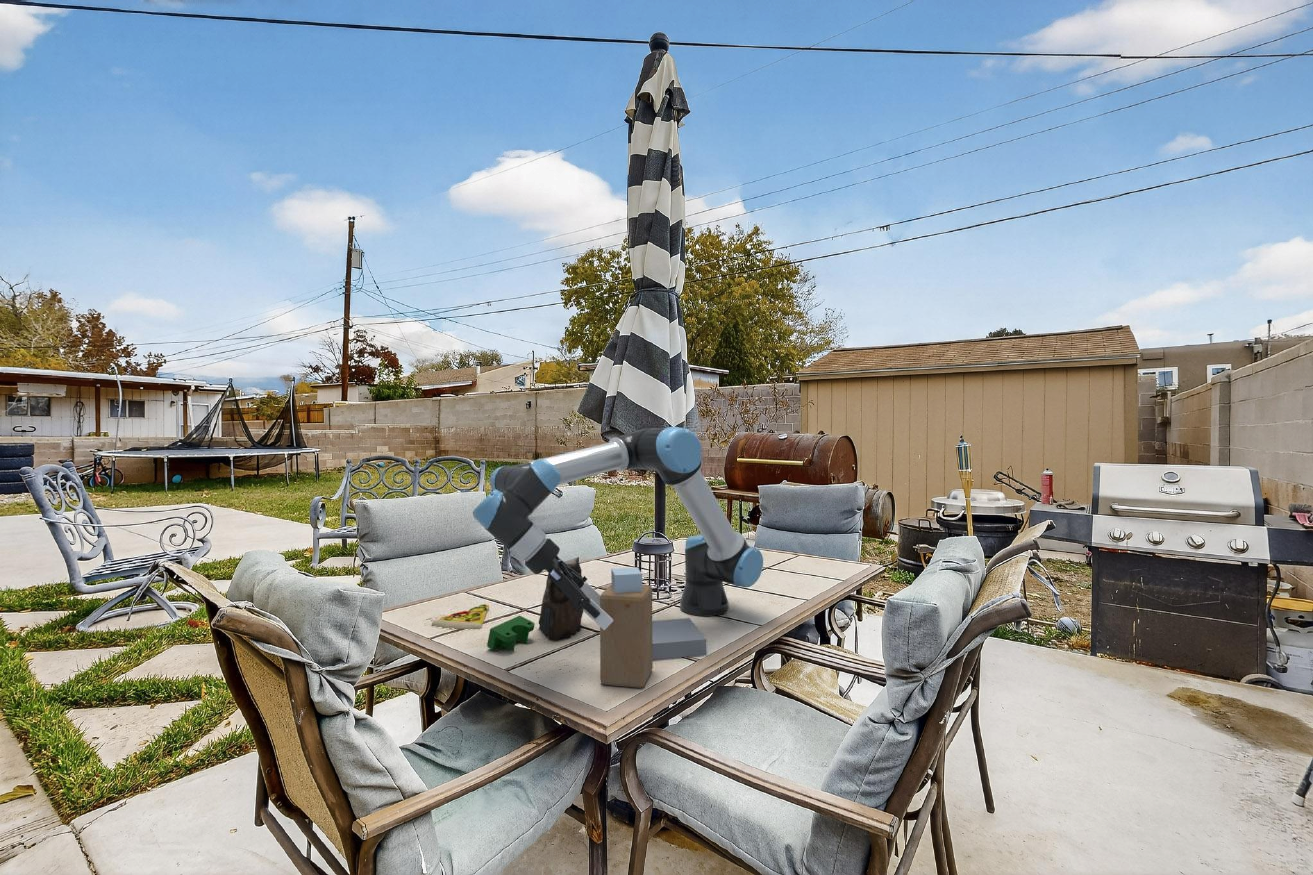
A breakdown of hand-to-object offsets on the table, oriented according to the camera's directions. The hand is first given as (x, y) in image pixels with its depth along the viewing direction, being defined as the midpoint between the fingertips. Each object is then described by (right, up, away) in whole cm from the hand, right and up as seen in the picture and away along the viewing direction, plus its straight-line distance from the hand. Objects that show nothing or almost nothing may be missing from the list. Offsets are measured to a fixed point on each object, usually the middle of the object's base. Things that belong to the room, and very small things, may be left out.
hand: (605, 614), depth 119 cm
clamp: (-26, -15, +21) cm, 37 cm away
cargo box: (+5, +5, +2) cm, 7 cm away
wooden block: (+5, -15, +2) cm, 16 cm away
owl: (-16, -15, +31) cm, 38 cm away
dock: (+13, -15, +20) cm, 28 cm away
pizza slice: (-44, -16, +43) cm, 64 cm away
